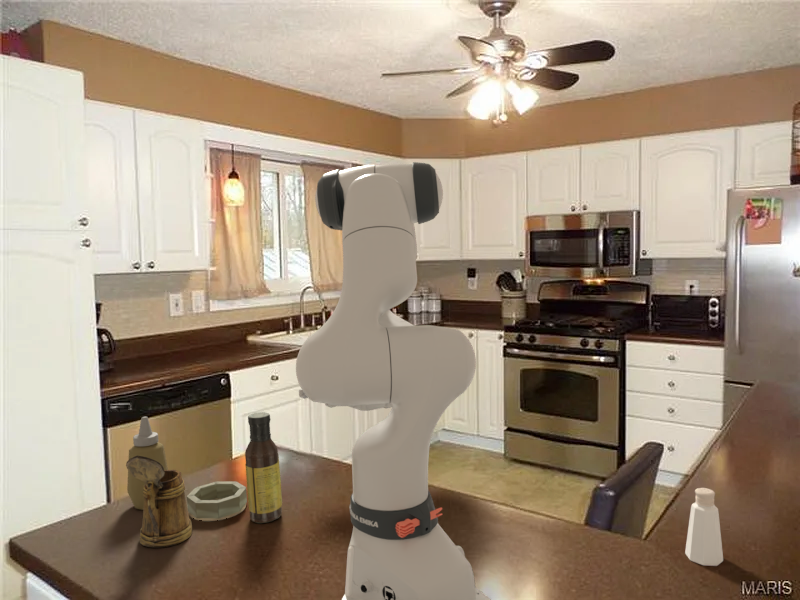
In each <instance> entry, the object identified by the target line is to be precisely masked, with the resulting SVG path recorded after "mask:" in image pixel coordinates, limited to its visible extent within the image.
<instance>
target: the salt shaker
mask: <svg viewBox="0 0 800 600" xmlns="http://www.w3.org/2000/svg"><path fill="white" fill-rule="evenodd" d="M694 493H695V502H693V503H692V504H691V506H690V513H689V520H688V528H687V535H686V542H685V543H686V544H685V551H684V554H685V555H686V557H687V558H688V560H689V561H690V562H693V563H696V564H699V565H701V566H710V567H717V566H719V565H721V563H723V562H724V555H723V543H722V535H721V525H720V514H719V508H718V507H717V506H716V505H715V495H716V492H715V491H714V490H713V489H711V488H706V487H698V488H696V489H695V490H694Z"/></svg>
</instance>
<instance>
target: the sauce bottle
mask: <svg viewBox="0 0 800 600" xmlns="http://www.w3.org/2000/svg"><path fill="white" fill-rule="evenodd" d="M247 420H248V425H249V442H248V444H247V447H246V449H245V450H244V451H245V453H244V457H245V476H246V492H247V502H248V503H247V504H248V510H249V519H250V521H251V522H254V523H255V524H266V523H271V522H273V521H275V520H277V519H279V518H280V517H281V516H282V513H283V512H282V511H283V509H282V506H283V499H282V498H283V496H282V482H281V478H282V477H281V470H280V469H281V467H280V456H279V455H280V454H279V451H278V447H277V444H276V443H275V442H274V440H273V439H272V436H271V435H272V434H271V426H270V423H271V415H270V413H269V412H262V411H261V412H254V413H251V414H249V415H248V416H247Z"/></svg>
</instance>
